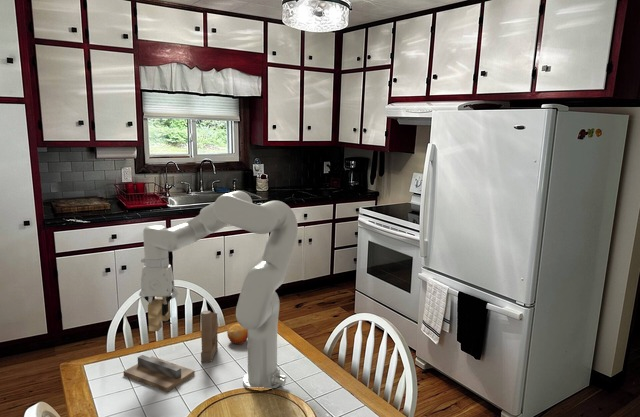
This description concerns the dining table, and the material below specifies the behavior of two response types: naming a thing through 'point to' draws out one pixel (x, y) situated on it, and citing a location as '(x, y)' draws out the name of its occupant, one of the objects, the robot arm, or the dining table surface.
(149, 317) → the wooden bridge block
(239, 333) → the fruit
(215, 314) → the wooden block
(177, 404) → the dining table surface
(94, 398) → the dining table surface
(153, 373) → the rib board
